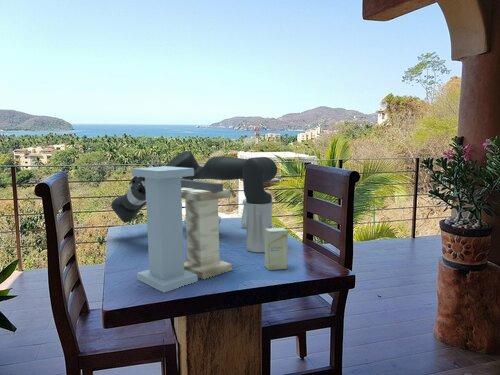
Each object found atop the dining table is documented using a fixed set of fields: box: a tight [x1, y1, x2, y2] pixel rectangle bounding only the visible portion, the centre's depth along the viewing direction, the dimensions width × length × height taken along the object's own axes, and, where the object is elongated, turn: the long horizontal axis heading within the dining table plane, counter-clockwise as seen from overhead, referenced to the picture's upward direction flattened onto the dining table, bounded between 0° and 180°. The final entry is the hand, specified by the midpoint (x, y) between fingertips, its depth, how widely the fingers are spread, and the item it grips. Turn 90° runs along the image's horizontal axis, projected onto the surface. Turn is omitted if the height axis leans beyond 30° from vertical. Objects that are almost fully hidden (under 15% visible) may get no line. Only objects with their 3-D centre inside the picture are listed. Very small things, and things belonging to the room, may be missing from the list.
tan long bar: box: [181, 178, 224, 192], centre depth 119 cm, size 26×2×2 cm, turn 44°
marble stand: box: [181, 187, 233, 280], centre depth 118 cm, size 14×11×25 cm
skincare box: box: [264, 227, 289, 271], centre depth 120 cm, size 6×4×12 cm
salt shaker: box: [240, 198, 246, 229], centre depth 174 cm, size 6×6×13 cm
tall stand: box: [131, 165, 198, 294], centre depth 109 cm, size 14×11×32 cm
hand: (159, 171), depth 132 cm, fingers open, 8 cm apart
